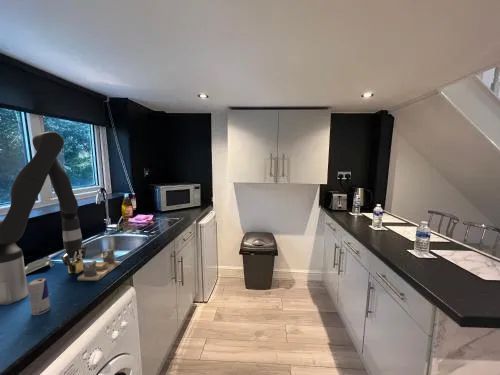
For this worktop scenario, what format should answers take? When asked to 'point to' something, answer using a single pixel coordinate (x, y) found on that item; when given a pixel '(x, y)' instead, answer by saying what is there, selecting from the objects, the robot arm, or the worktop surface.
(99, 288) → the worktop surface
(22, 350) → the worktop surface
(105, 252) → the shafts
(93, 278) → the coupling base
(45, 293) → the energy drink
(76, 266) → the slotted brass block
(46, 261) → the metal bracket
